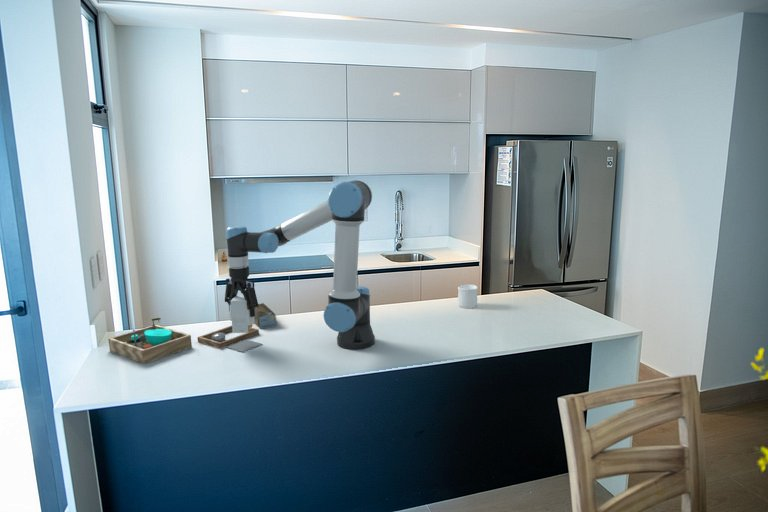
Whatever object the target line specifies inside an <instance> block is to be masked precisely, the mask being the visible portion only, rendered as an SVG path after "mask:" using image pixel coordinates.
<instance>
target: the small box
mask: <svg viewBox="0 0 768 512" xmlns="http://www.w3.org/2000/svg"><path fill="white" fill-rule="evenodd" d="M247 309H248V306H247V301H246V300H245V298H244V296H243V294H241V295H238V294H237V296H235V297H234V298H233V299H232V300H231V317H232V321H231V326H232V331H231V333H232V334H245V333H248V332H249V331H250V329H251V328H253V327H254V326H253V325H254V324H252V325H250V326H249V325H248V318H247Z"/></svg>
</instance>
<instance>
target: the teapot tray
mask: <svg viewBox="0 0 768 512" xmlns="http://www.w3.org/2000/svg"><path fill="white" fill-rule="evenodd" d="M154 325H155V326H153V325H150V326H146V327H143V328H140V329H135V335H138V336H140V335H142V334H144V332H145V331H146V330H153V329H167V330H170V331H171V332H172V335H171V338H170V340H171V341H168V342H165V343H162V344H159V345H156V346H153V347H150V348H147V349H141V348H138V347H136V346H133V345H130V344H129V343H128V341H129V340H131V339H132V338H131V336H133V330H132V331H130V332H126V333H125V332H124V333H122V334H118V335H117V336H113V337H109V338H108V347H109V351H110V352H111V353H115V354H118V355H121V356H123V357H125V358H128V359H130V360H134V361H137V362H138V363H141V364H144V365H145V364H148V363H150V362H151V363H152V362H154V361H157V360H159V359H162V358H165V357H167V356H170V355H173V354H177V353H179V352H182V351H184V350H189V349H191V348H192V347H193V346H192V335H191V334H189V333H185V332H182V331H178V330H176V329H171V328H170V327H169V328H168V327H165V326H161V325H158V324H154ZM145 341H147V340H146V338H145V337H143V338H142V342H145ZM125 342H126V343H125Z"/></svg>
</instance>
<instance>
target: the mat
mask: <svg viewBox="0 0 768 512" xmlns="http://www.w3.org/2000/svg"><path fill="white" fill-rule="evenodd" d="M262 345H263V343H261V342H257V341H254V340H250V339H248V338H247V339H244V340H242V341H239V342H237V343H234V344H231V345H229V346H226V347H225V348H227V349H230V350H233V351H236V352H239V353H242V354H244V353H245V352H248V351H251V350H254V349H256V348H258V347H260V346H262Z"/></svg>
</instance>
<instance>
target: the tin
mask: <svg viewBox="0 0 768 512" xmlns="http://www.w3.org/2000/svg"><path fill="white" fill-rule="evenodd" d="M211 340H213V341H217V342H223V341H226V340H227V339H226V333H215V334H213V335H212V338H211Z"/></svg>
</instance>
